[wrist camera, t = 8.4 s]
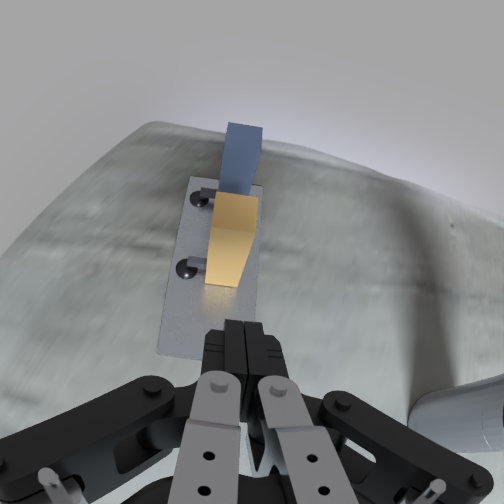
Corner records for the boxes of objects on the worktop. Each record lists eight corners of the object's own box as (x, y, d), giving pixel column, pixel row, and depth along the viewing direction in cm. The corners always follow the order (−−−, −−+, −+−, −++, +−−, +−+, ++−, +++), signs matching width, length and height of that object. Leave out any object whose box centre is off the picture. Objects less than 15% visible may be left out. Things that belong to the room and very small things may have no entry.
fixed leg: (202, 188, 47) (208, 119, 35) (245, 194, 47) (262, 127, 36) (197, 210, 45) (202, 142, 33) (243, 216, 45) (261, 150, 34)
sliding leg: (190, 251, 41) (191, 187, 30) (239, 258, 42) (258, 197, 31) (185, 280, 39) (183, 223, 28) (237, 287, 40) (255, 233, 29)
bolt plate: (190, 180, 48) (190, 175, 47) (261, 190, 49) (263, 185, 48) (158, 354, 36) (156, 352, 35) (250, 365, 37) (252, 364, 36)
